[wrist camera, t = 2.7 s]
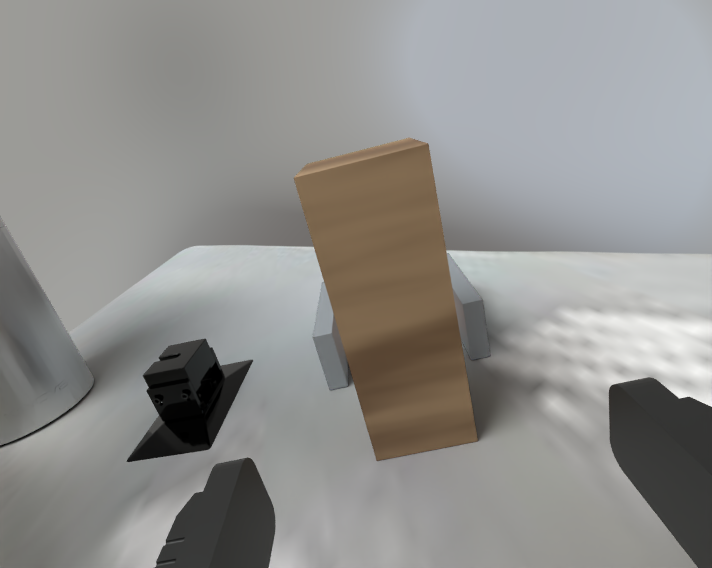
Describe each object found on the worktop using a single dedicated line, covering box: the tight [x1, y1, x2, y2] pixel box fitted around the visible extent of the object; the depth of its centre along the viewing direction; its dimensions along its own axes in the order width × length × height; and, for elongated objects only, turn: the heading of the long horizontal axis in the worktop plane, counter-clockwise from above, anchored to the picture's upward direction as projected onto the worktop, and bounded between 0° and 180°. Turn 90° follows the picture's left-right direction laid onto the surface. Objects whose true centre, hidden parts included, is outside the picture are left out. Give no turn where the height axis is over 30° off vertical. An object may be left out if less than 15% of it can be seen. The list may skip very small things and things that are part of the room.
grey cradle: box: [313, 253, 490, 390], centre depth 29 cm, size 9×10×4 cm
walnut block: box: [294, 138, 478, 461], centre depth 20 cm, size 5×5×14 cm
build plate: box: [127, 339, 253, 462], centre depth 28 cm, size 12×7×5 cm, turn 177°
